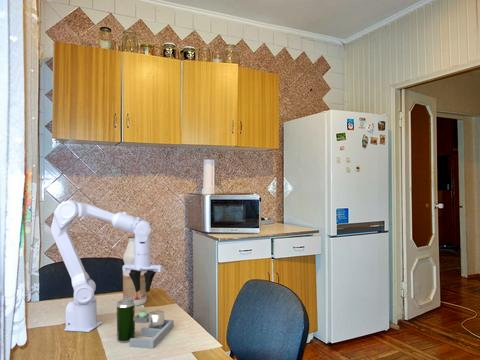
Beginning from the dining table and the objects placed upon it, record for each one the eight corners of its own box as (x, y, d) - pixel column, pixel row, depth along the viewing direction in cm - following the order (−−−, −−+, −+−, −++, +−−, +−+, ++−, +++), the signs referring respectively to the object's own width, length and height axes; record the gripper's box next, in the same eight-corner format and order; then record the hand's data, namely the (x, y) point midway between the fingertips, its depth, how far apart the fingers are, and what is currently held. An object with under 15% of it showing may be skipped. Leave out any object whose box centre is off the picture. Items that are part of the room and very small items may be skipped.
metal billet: (146, 333, 120) (146, 315, 120) (152, 327, 125) (152, 310, 125) (160, 334, 119) (160, 316, 119) (166, 328, 124) (166, 310, 124)
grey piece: (129, 346, 110) (129, 339, 110) (152, 325, 127) (152, 318, 127) (153, 348, 109) (153, 340, 109) (173, 326, 126) (173, 320, 126)
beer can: (119, 345, 112) (119, 305, 112) (115, 339, 116) (114, 301, 116) (137, 340, 115) (136, 302, 115) (132, 334, 119) (131, 297, 119)
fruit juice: (123, 307, 146) (122, 237, 146) (122, 300, 155) (122, 234, 155) (147, 304, 149) (147, 235, 149) (145, 298, 158) (144, 233, 158)
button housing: (133, 322, 130) (133, 317, 130) (139, 317, 135) (139, 313, 135) (146, 323, 129) (146, 318, 129) (152, 318, 134) (152, 313, 134)
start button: (137, 319, 131) (137, 313, 131) (141, 316, 134) (141, 310, 134) (145, 319, 130) (145, 314, 130) (148, 316, 133) (148, 311, 133)
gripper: (118, 255, 130) (118, 293, 130) (156, 256, 127) (157, 295, 127) (127, 251, 137) (128, 288, 136) (164, 252, 134) (165, 289, 134)
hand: (142, 291), depth 132 cm, fingers open, 3 cm apart
